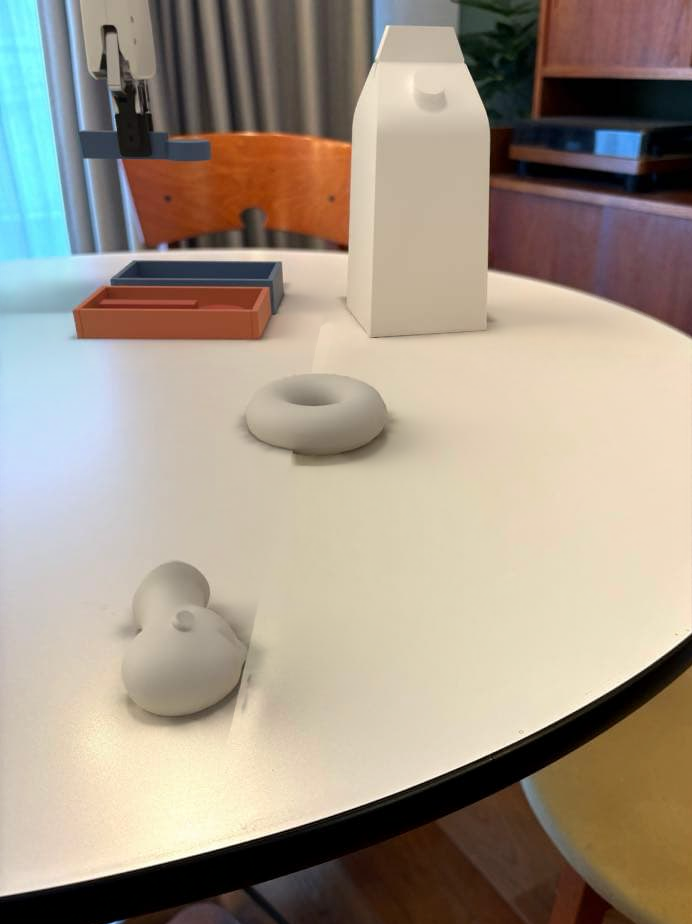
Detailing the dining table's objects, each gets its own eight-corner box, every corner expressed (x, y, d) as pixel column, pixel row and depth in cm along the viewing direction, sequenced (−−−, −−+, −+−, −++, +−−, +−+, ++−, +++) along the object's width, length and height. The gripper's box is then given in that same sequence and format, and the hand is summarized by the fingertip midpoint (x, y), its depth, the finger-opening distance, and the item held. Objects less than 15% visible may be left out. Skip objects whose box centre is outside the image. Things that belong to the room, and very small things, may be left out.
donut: (277, 405, 65) (224, 454, 56) (275, 362, 63) (219, 406, 55) (401, 418, 63) (364, 470, 54) (402, 374, 61) (364, 421, 53)
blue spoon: (78, 160, 87) (73, 132, 86) (91, 155, 91) (86, 129, 90) (207, 161, 87) (205, 134, 86) (214, 156, 92) (212, 130, 90)
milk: (451, 301, 93) (463, 29, 80) (486, 330, 83) (506, 26, 70) (346, 307, 90) (340, 26, 77) (370, 337, 80) (368, 22, 67)
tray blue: (115, 313, 87) (109, 279, 85) (137, 291, 95) (133, 260, 93) (274, 314, 87) (272, 280, 85) (283, 292, 95) (281, 261, 93)
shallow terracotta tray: (98, 335, 78) (93, 308, 77) (112, 321, 82) (108, 295, 81) (242, 336, 78) (239, 309, 77) (248, 322, 83) (246, 296, 81)
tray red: (79, 347, 76) (72, 309, 75) (107, 320, 84) (101, 285, 83) (260, 348, 77) (257, 311, 75) (271, 321, 85) (269, 286, 83)
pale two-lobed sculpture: (237, 750, 34) (108, 737, 32) (234, 632, 41) (126, 616, 39) (262, 670, 32) (126, 652, 30) (254, 559, 39) (142, 540, 37)
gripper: (93, -46, 86) (121, 148, 96) (43, -65, 73) (82, 163, 82) (166, -45, 87) (187, 148, 96) (130, -64, 73) (159, 164, 82)
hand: (138, 154), depth 89 cm, fingers closed on blue spoon, 1 cm apart
